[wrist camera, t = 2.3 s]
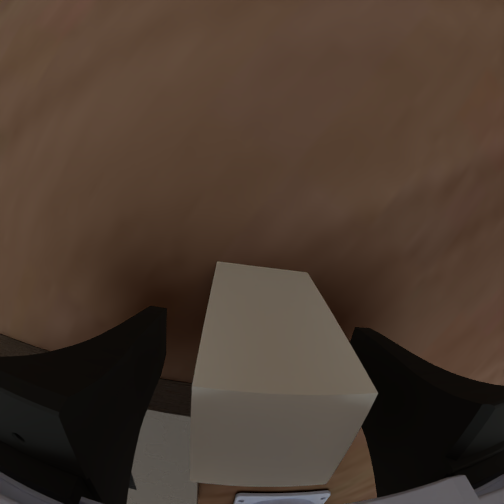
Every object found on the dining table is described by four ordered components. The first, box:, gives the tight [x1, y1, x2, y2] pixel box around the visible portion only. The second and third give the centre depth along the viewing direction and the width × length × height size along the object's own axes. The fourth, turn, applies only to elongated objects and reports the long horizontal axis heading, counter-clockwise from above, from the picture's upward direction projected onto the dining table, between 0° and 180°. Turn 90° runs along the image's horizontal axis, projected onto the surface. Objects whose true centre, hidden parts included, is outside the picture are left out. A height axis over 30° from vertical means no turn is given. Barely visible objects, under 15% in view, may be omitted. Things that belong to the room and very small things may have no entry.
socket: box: [0, 334, 199, 504], centre depth 15 cm, size 14×14×3 cm
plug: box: [190, 261, 378, 487], centre depth 10 cm, size 4×4×8 cm
